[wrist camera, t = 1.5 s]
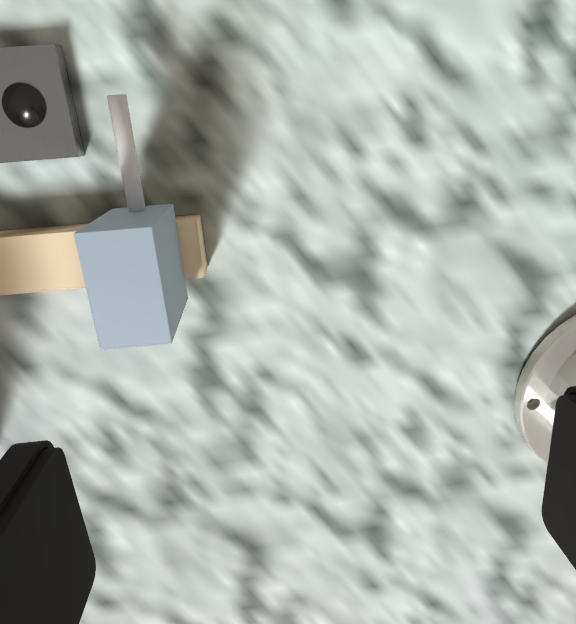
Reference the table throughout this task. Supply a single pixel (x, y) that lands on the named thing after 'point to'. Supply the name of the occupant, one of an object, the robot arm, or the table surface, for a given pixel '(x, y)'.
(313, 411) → the table surface
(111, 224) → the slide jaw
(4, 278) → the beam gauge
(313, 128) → the table surface
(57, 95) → the flange plate
